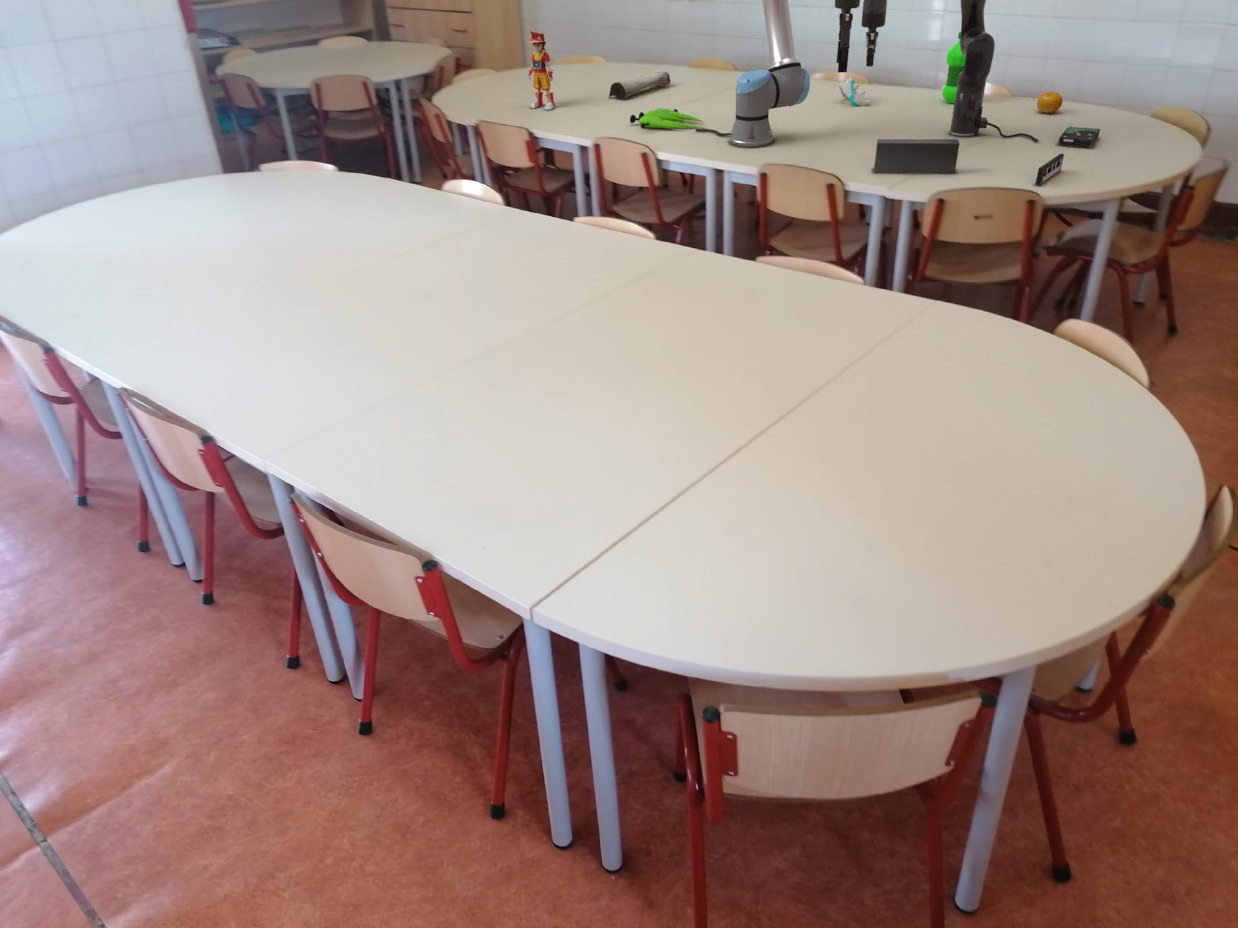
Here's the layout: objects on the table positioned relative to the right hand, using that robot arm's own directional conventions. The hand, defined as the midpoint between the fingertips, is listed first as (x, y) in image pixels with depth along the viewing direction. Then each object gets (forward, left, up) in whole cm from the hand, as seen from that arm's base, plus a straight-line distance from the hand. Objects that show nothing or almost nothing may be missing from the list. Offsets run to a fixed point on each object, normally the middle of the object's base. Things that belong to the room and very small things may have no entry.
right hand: (869, 63), depth 301 cm
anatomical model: (+3, -58, -26) cm, 64 cm away
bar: (-16, +32, -26) cm, 44 cm away
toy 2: (+72, -23, -26) cm, 80 cm away
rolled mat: (+94, -79, -26) cm, 125 cm away
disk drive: (-71, -2, -26) cm, 76 cm away
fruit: (-68, -41, -26) cm, 84 cm away
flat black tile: (-55, +38, -26) cm, 72 cm away
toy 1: (+132, -52, -26) cm, 144 cm away
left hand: (+9, +20, +3) cm, 22 cm away
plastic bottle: (-36, -57, -26) cm, 73 cm away
